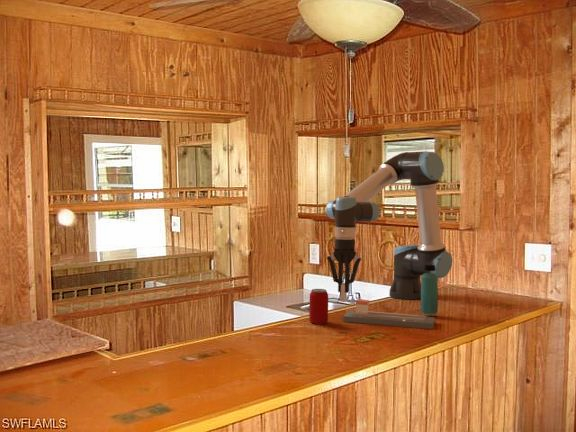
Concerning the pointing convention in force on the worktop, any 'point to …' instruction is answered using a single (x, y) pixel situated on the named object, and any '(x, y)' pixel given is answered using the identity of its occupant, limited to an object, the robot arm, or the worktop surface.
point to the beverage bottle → (429, 291)
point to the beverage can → (318, 306)
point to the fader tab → (362, 306)
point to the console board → (390, 319)
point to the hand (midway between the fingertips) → (343, 301)
